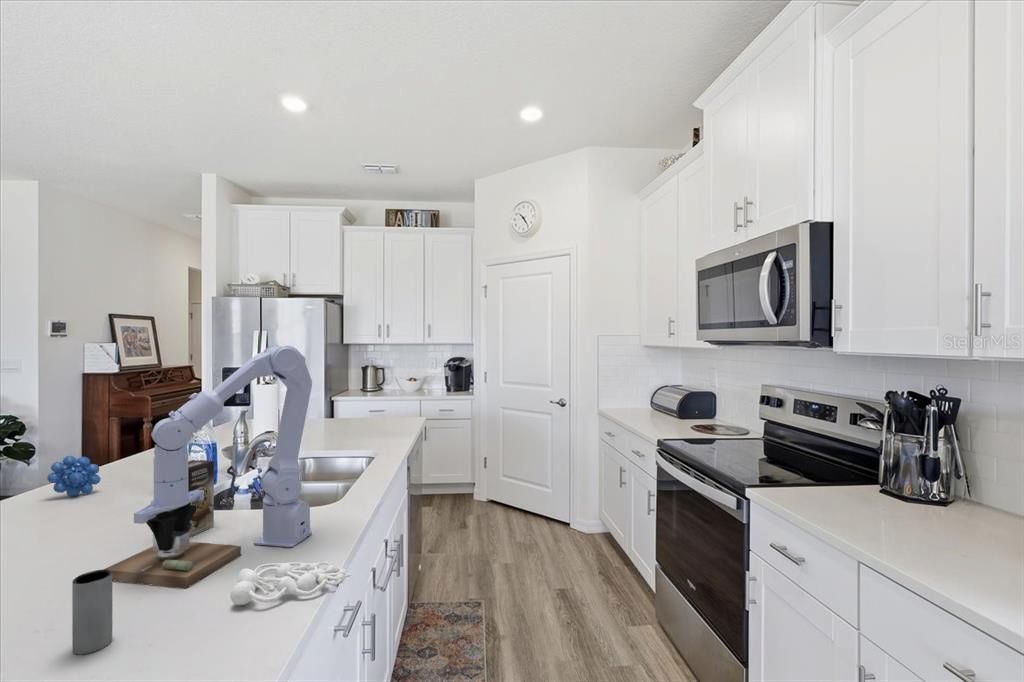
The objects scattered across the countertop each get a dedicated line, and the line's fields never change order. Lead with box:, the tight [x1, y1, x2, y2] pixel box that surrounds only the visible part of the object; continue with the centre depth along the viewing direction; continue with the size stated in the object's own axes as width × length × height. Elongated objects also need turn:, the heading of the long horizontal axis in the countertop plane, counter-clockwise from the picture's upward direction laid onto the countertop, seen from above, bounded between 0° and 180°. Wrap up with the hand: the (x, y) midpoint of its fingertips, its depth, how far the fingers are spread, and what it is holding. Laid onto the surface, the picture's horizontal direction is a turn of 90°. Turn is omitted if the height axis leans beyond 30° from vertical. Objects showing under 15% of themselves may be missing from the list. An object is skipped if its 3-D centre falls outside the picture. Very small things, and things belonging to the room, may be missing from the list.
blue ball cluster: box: [46, 455, 101, 498], centre depth 142 cm, size 12×7×12 cm, turn 139°
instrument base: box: [102, 541, 242, 589], centre depth 98 cm, size 18×14×4 cm
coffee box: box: [186, 459, 215, 538], centre depth 116 cm, size 9×6×16 cm
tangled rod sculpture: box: [229, 561, 351, 606], centre depth 91 cm, size 19×14×4 cm
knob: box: [152, 531, 190, 560], centre depth 99 cm, size 6×4×5 cm
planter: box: [71, 569, 113, 655], centre depth 73 cm, size 4×4×10 cm
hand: (171, 546), depth 99 cm, fingers closed on knob, 2 cm apart
